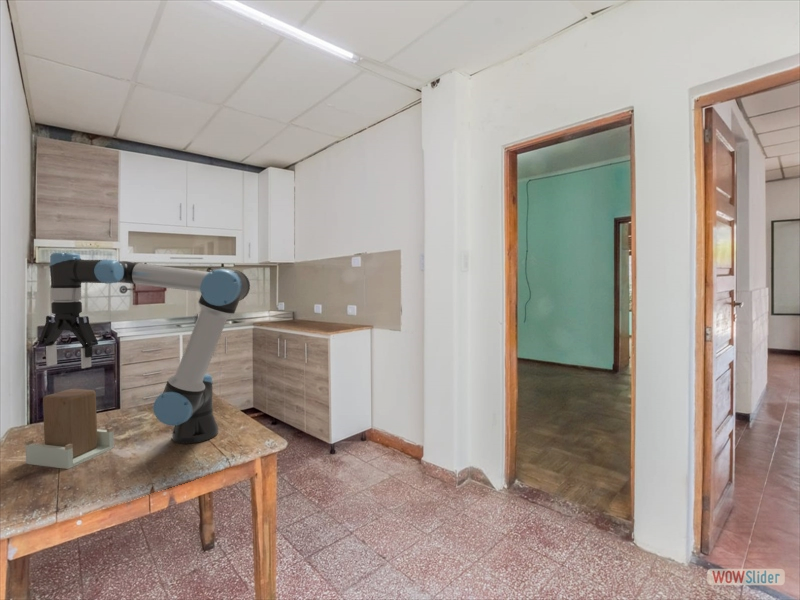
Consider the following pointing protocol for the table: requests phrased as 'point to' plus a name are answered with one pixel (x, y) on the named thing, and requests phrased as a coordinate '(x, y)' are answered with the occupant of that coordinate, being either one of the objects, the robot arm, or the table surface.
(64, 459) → the pale green tray
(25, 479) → the table surface
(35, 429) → the table surface
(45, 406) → the wooden block
